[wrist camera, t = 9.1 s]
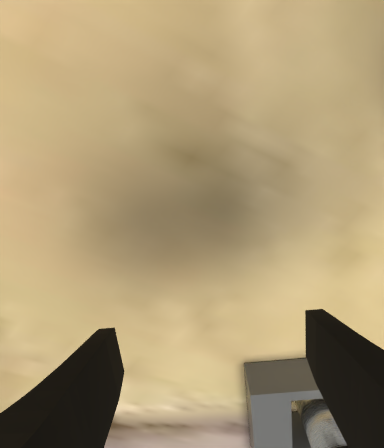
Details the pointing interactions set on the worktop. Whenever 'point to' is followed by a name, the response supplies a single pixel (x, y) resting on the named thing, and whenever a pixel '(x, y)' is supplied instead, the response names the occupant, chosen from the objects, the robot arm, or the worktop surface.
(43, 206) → the worktop surface
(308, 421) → the jar
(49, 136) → the worktop surface
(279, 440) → the socket strip
